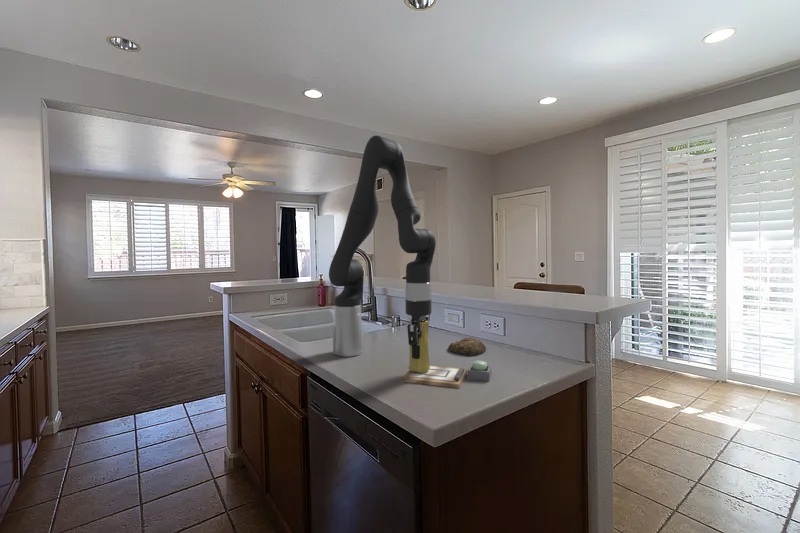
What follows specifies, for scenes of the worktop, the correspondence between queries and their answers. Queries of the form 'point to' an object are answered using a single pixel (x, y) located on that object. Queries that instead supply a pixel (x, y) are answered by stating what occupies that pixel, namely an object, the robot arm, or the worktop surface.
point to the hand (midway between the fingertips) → (419, 355)
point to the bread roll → (467, 347)
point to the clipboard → (437, 376)
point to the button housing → (479, 374)
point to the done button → (480, 365)
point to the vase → (421, 352)
